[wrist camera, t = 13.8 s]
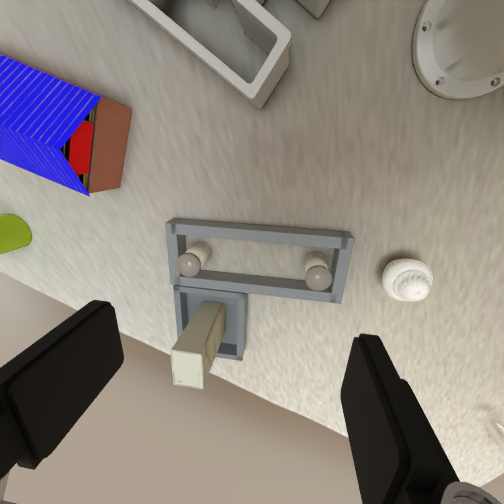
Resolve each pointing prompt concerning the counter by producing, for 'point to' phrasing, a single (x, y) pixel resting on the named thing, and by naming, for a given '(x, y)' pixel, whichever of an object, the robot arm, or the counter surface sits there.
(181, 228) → the grey rectangular frame
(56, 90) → the house
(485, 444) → the counter surface
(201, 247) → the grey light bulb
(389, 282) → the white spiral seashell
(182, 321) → the tray
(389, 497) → the robot arm
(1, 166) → the counter surface
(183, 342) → the skincare box
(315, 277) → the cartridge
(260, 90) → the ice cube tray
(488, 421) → the cup
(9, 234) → the soap dispenser
